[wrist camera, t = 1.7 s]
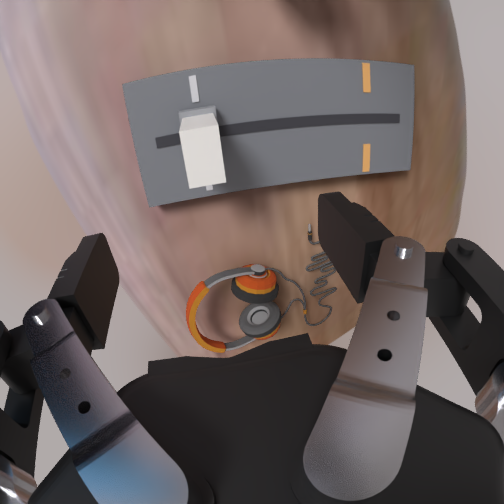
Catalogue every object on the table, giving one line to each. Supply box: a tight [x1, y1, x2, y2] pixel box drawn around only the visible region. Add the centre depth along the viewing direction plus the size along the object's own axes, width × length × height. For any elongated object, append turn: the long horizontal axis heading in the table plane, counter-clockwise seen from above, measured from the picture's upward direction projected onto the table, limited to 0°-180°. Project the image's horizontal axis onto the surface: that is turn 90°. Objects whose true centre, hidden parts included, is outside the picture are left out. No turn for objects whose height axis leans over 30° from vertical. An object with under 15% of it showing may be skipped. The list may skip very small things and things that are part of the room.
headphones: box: [186, 224, 337, 353], centre depth 38 cm, size 17×5×20 cm
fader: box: [179, 105, 226, 189], centre depth 23 cm, size 5×3×7 cm, turn 6°
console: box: [122, 58, 414, 207], centre depth 27 cm, size 12×28×2 cm, turn 96°
